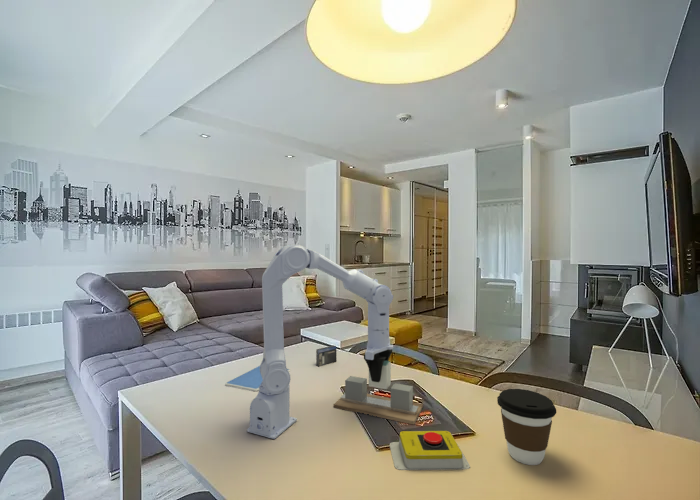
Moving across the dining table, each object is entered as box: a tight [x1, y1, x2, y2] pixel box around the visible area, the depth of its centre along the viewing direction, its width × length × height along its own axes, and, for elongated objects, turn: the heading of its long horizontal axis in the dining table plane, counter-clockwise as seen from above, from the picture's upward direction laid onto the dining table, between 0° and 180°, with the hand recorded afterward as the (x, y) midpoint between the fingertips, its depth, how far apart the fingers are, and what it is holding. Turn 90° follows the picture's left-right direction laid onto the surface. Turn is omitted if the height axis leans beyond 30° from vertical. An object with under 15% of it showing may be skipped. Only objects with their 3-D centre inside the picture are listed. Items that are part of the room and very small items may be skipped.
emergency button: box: [389, 430, 471, 471], centre depth 72 cm, size 9×4×15 cm
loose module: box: [368, 360, 392, 390], centre depth 93 cm, size 4×5×6 cm
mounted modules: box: [344, 375, 414, 411], centre depth 93 cm, size 4×18×5 cm, turn 66°
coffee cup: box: [496, 388, 557, 466], centre depth 71 cm, size 11×11×12 cm
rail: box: [339, 393, 418, 415], centre depth 93 cm, size 4×21×1 cm, turn 66°
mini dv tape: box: [315, 344, 337, 368], centre depth 127 cm, size 8×2×6 cm, turn 131°
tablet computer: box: [224, 365, 291, 392], centre depth 114 cm, size 19×13×1 cm, turn 158°
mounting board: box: [333, 393, 424, 425], centre depth 93 cm, size 10×22×1 cm, turn 66°
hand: (378, 378), depth 93 cm, fingers closed on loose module, 4 cm apart
